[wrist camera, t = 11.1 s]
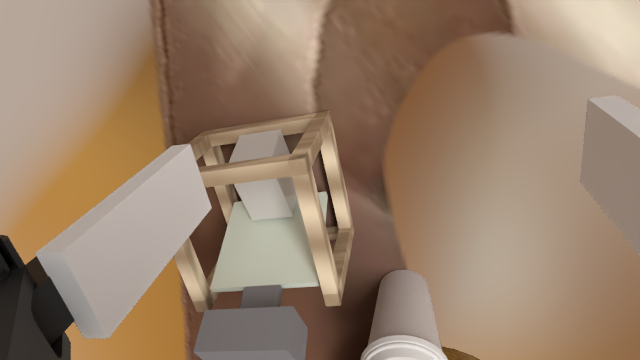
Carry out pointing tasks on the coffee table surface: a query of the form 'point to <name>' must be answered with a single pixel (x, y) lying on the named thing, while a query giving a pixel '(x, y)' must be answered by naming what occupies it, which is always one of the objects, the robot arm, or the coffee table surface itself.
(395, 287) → the coffee cup
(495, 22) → the coffee table surface
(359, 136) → the coffee table surface
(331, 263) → the maple stand
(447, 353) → the bowl
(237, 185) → the light gray block
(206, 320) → the trapdoor
